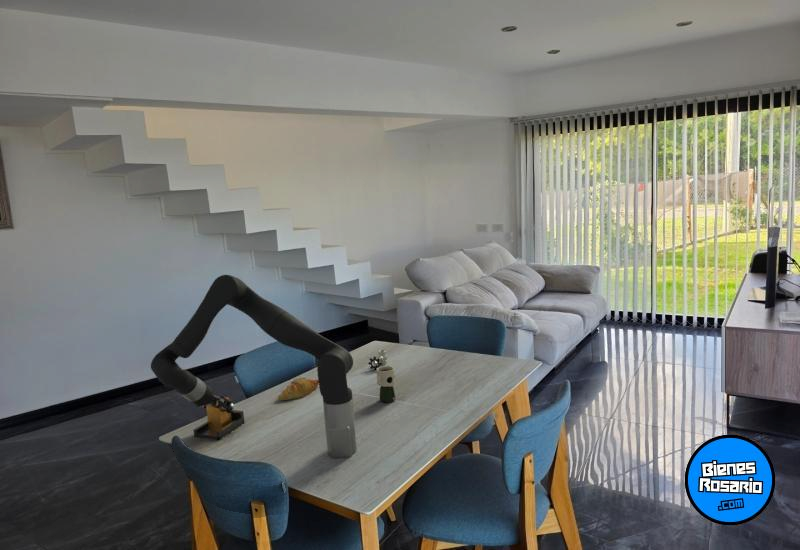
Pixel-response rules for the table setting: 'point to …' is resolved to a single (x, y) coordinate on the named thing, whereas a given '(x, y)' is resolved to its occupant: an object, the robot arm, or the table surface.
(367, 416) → the table surface
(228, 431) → the tray
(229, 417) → the block
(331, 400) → the robot arm
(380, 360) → the valve
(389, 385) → the character mug
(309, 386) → the croissant
